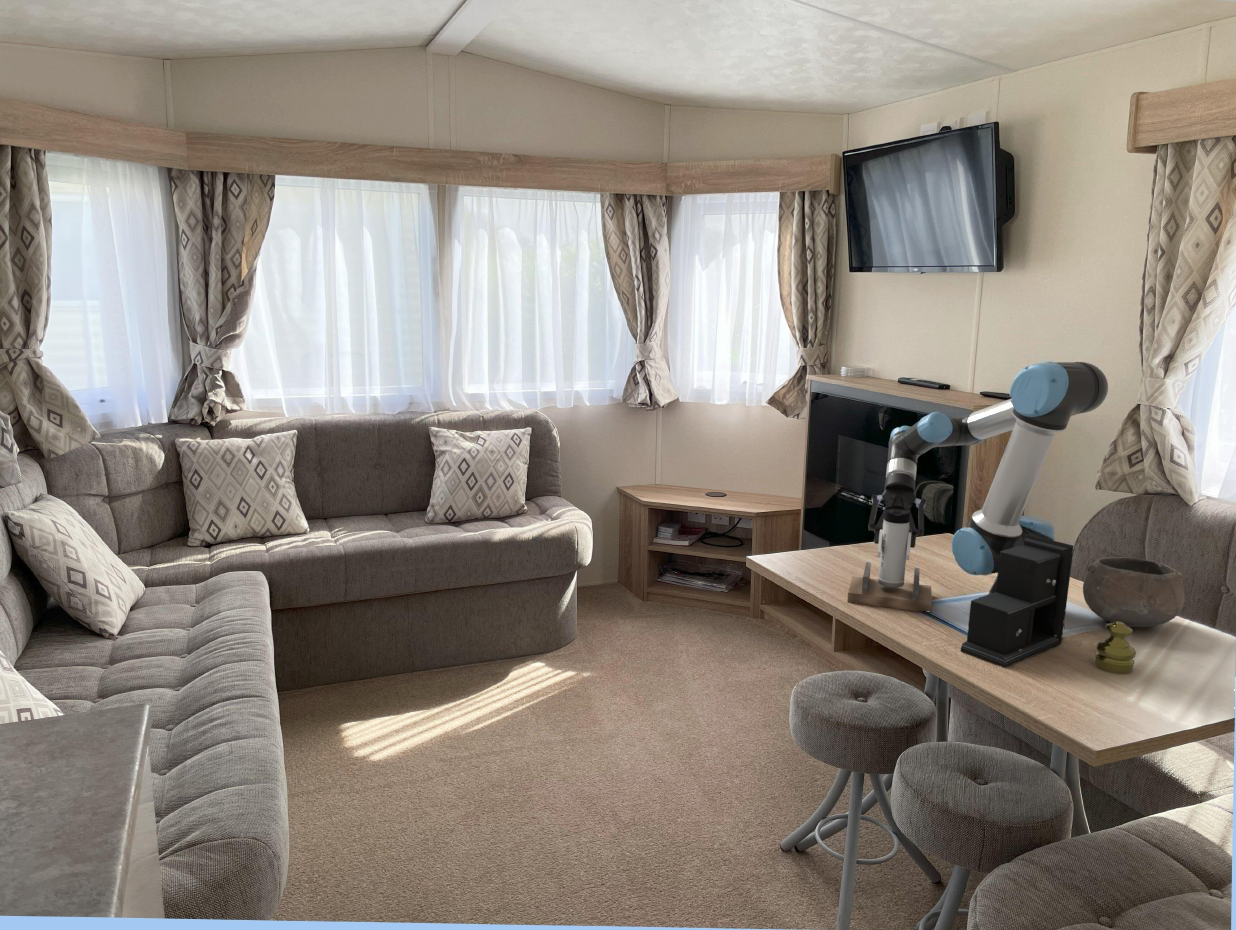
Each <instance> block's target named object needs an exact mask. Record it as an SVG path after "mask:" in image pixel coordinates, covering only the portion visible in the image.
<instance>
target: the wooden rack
mask: <svg viewBox="0 0 1236 930" xmlns="http://www.w3.org/2000/svg"><path fill="white" fill-rule="evenodd" d="M871 567H872V562H869V561H866V562H865V566H864V571H863V576H862V577H861V576H854V575H853V576H851V579H850V583H849V587H848V591H847V601H851V602H850V603H852V602H857V603H856V604H860V603H864V604H863V605H867V604H868V605H869V606H875V607H877V606H878V607H885V608H891V609H899V610H906V611H907V610H908V611H914V612H915V611H916V612H923V611H931V612H932V602H933V601H932V600H933V598H932V597H933V595H932V586H931V585H927V584H921V583H920V570H921V569H920V568H919V567H914V571H913V573H914V574H913V582H912V583H911V582H904V585H903V586H902V587H898V588H892V587H886V586H883V585H881V584H879V582H878V579H879V578H870V576H871Z"/></svg>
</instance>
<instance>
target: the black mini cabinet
mask: <svg viewBox="0 0 1236 930" xmlns="http://www.w3.org/2000/svg"><path fill="white" fill-rule="evenodd" d="M1073 556H1074V545H1072V544H1068V543H1064V542H1060V541H1056V540H1054V541H1053V540H1049V539H1045V538H1041V537H1037V536H1033V535H1027V536H1026V537H1025V540H1024V545H1021V546H1017V547H1014V548H1010V549H1007V550H1003V551H1000V558H999V566H998V573H997V575H998V576H997V575H996V577H997V584H996V592H995V593H992V594H989V595H988V594H986V595H983V596H979V597H978V598H974V599H971V600H970V604H969V605H970V606H969V615H968V616H969V617H968V627H967V638H966V641H964V642H963V643H962V644H961V647H960V652H961V653H965V654H967V655H970V656H972V657H975V658H978V659H980V660H983V661H986V662H988V663H991V664H993V665H996V666H999V667H1001V668H1007V667H1009V666H1012V665H1014V664H1016V663H1019V662H1022V661H1025V660H1026V659H1029V658H1031V657H1033V656H1035V655H1039V654H1040V653H1043V652H1045V651H1047V650H1050V649H1052V648H1055V647H1057V646H1059V645H1062V642H1063V636H1064V635H1063V634H1064V629H1065V628H1064V626H1065V619H1066V611H1067V603H1068V594H1069V588H1070V587H1069V586H1070V578H1071V573H1072V572H1071V571H1072V564H1073Z"/></svg>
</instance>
